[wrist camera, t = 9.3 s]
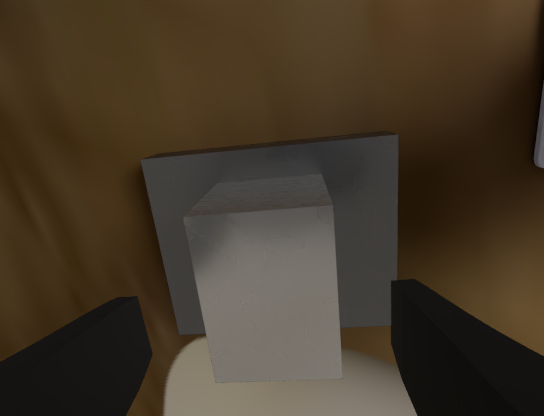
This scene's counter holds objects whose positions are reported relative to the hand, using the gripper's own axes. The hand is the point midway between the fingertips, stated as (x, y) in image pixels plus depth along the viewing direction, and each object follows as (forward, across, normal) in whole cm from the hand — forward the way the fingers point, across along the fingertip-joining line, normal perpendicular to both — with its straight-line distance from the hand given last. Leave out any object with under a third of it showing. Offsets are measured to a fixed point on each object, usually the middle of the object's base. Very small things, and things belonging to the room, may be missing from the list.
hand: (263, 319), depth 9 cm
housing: (+7, 0, +1) cm, 7 cm away
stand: (+9, 0, +1) cm, 9 cm away
